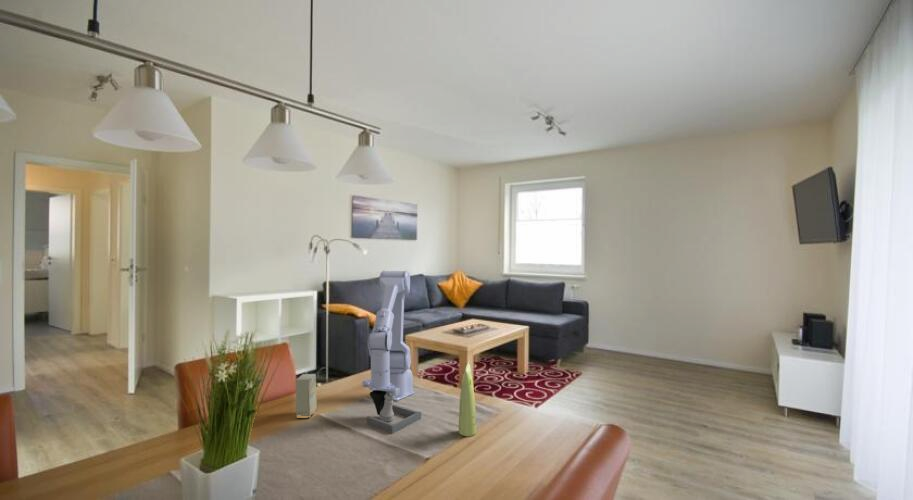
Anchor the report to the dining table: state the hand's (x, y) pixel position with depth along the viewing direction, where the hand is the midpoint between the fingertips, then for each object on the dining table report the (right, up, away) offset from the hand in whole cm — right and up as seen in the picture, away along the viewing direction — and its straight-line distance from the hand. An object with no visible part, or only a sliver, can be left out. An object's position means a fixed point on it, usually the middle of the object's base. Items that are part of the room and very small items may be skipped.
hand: (381, 413), depth 130 cm
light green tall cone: (+26, -1, -12) cm, 29 cm away
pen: (+4, -1, -3) cm, 5 cm away
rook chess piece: (+2, -1, -2) cm, 3 cm away
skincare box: (-24, -2, +2) cm, 24 cm away
